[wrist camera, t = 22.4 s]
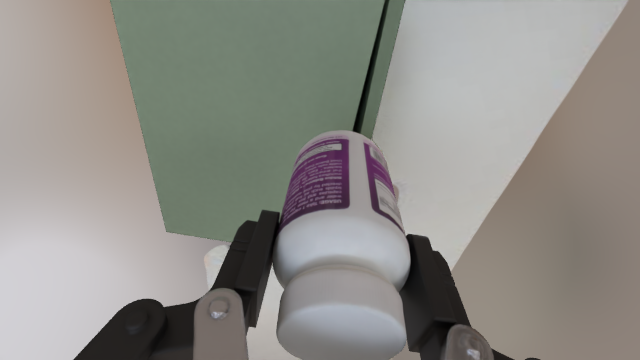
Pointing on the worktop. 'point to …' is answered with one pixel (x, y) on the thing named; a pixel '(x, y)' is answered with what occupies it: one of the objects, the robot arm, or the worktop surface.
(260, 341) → the worktop surface
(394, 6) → the cupboard door
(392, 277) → the pill bottle
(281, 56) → the cupboard
